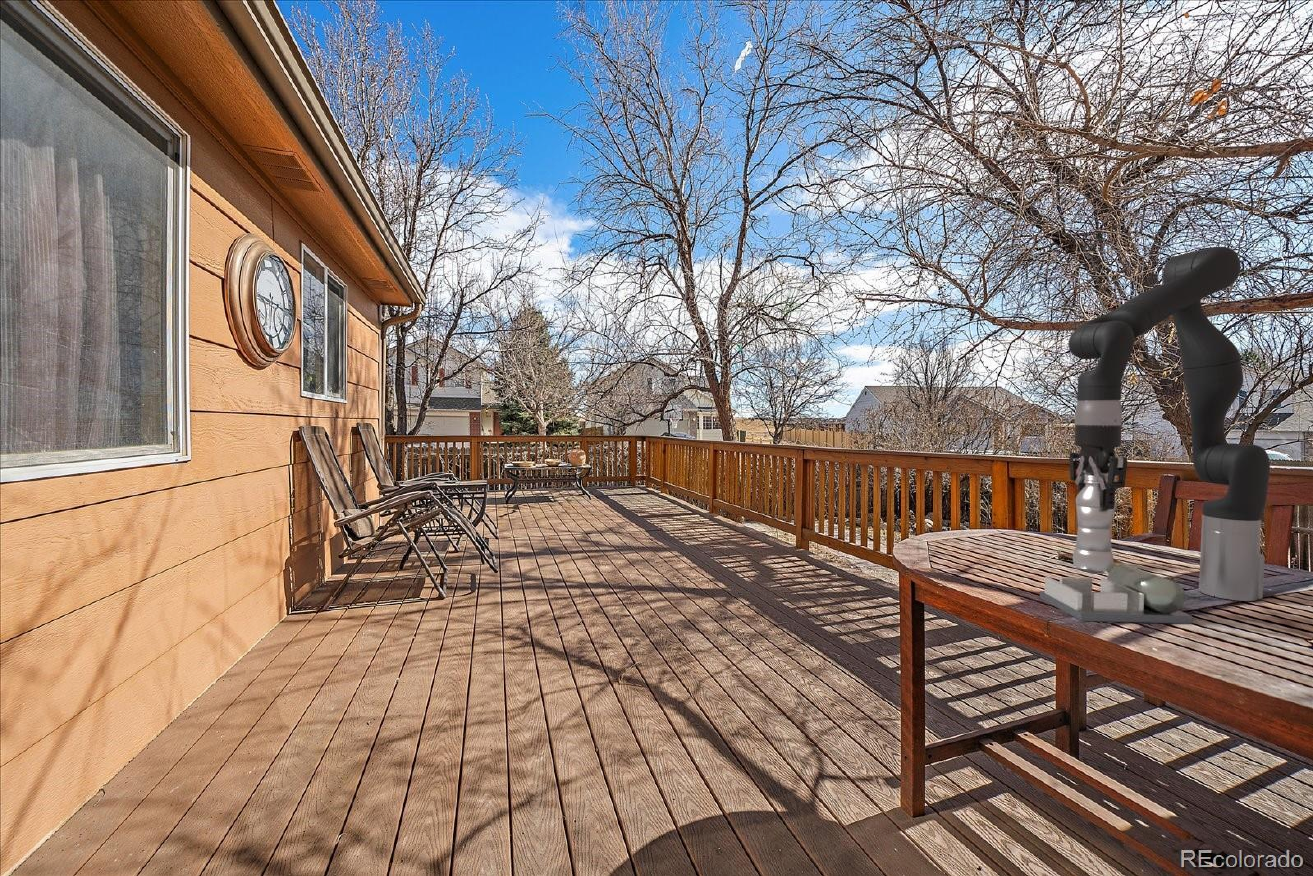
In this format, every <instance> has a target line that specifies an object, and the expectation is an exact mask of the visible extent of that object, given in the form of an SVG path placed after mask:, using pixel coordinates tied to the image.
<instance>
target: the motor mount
mask: <svg viewBox="0 0 1313 876" xmlns="http://www.w3.org/2000/svg"><path fill="white" fill-rule="evenodd" d="M1125 564H1126V563H1125ZM1125 564H1121V565H1117V566H1115V567H1114V568H1112V570H1111V571H1110V572H1109V573H1107V578H1105V577H1100V591H1098V592H1095V591H1093V578H1091V577H1073V576H1071V577H1066V576H1065V577H1064V576H1061V577H1059V581H1058V580H1057V579H1055V578H1052V577H1050V576H1044V590H1040V591H1039V599H1040V600H1042V601H1044V600H1045V601H1044V602H1046V603H1048V604H1051V606H1054V607H1055V608H1057V609H1059V610H1061V611H1063V612H1064V613H1066V614H1068V615H1070V616H1072V617H1073V618H1075V619H1076V620H1079V621H1080V622H1101V623H1102V622H1107V623H1109V622H1110V623H1113V622H1114V623H1144V624H1146V623H1147V624H1183V625H1184V624H1185V625H1186V624H1187V625H1189V624H1190V625H1192V624H1193V615H1191V614H1188V613H1186V612H1183V611H1182V610H1180V609H1181V608H1182V607H1183V606H1184V604H1185V602H1186V593H1185V590H1184V588H1183V586H1181V585H1180V584H1179V583H1177V582H1176V581H1173V580H1170V579H1167V578H1165V577H1162V576H1160V575H1157V574H1154V573H1151V572H1148V571H1145V570H1142V569H1139V568H1137V567H1135V566H1132V565H1129V564H1126V565H1125Z"/></svg>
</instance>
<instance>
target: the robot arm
mask: <svg viewBox="0 0 1313 876" xmlns="http://www.w3.org/2000/svg"><path fill="white" fill-rule="evenodd" d="M1241 266H1242V265H1241V261H1240V257H1239V255H1238V254H1237V252H1236V251H1235V250H1234V249H1232V248H1231V247H1227V246H1213V247H1207V248H1204V249H1199V250H1196V251H1191V252H1188V253H1184V254H1179V255H1176V256H1173V257H1171V258H1169V260H1167V261H1166V263H1165V264H1164V267H1163V269H1162V283H1163V284H1161V285H1160V284H1159V285H1157V286H1155V287H1153V288H1151V289H1148V290H1146V291H1143V292H1142V293H1139V294H1138V295H1135V296H1133V297H1132V298H1129V300H1127V301H1125V302H1124V303H1122V304H1121V305H1120V306H1119V307H1117V308H1116V309H1114V310H1113V311H1112V310H1111V311H1110V312H1107V313H1105V314H1103V315H1099V316H1097V317H1095V318H1093V319H1091V320H1087V321H1086V322H1084V323H1082V324H1081V325H1080V326H1078V327H1076V328H1075V330H1074V331H1073V332H1072V333H1071V335H1070V336H1069V339H1068V349H1069V352H1070V353H1071V355H1073V356H1074V357H1076V358H1078V359H1080V360H1096V359H1099V360H1098V362H1097V365H1096V367H1095V368H1093V369H1090V370H1087V371H1084V372H1082V373H1080V375H1079V376H1078V379H1077V389H1076V390H1077V391H1076V392H1077V399H1076V400H1077V402H1076V407H1075V413H1074V416H1075V417H1074V440H1073V441H1074V445H1075V446H1076V447H1079V448H1080V449H1079V450H1080V451H1079V452H1078V451H1077V452H1070V453H1069V456H1068V457H1069V479H1070V481H1072V482H1073V481H1074V482H1075V484H1076V485H1077V495H1078V494H1079V492H1080V491H1081V490H1082V489H1083V488H1084V487H1085V485H1086V483H1084V478H1085V474H1094V475H1095V478H1096V479H1098V480H1099V483H1100V486H1101V489H1102V490H1101V493H1100V507H1101V508H1102V509H1113V508H1114V505H1115V500H1116V491H1117V490H1118V489H1124V488H1125V486H1126V477H1127V469H1128V468H1127V467H1128V458H1127V457H1126V456H1116V453H1115V449H1116V448H1120V447H1121V446H1122V426H1123V423H1122V421H1123V410H1122V401H1121V400H1122V382H1123V377H1124V374H1125V371H1126V369H1127V366H1128V363H1129V361H1130V358H1131V354H1132V352H1133V349H1134V345H1135V338H1138V337H1141V336H1142V335H1144V334H1145V333H1146V332H1148V331H1150V330H1151V329H1152V328H1154V327H1155V326H1157V325H1158V324H1159V323H1161V322H1163V321H1164V320H1166V319H1168V318H1169V317H1171V316H1172V319H1173V322H1174V328H1175V331H1176V332H1175V333H1176V336H1177V342H1178V346H1179V353H1180V360H1181V367H1182V376H1183V380H1184V385H1185V389H1186V393H1187V400H1188V406H1189V413H1190V414H1189V416H1190V423H1191V443H1192V447H1191V448H1192V462H1193V467H1194V471H1195V473H1196V475H1197V477H1198V478H1199V479H1200V480H1201V481H1203V482H1205V483H1207V484H1213V485H1214V484H1215V485H1221V486H1228V489H1227V492H1226V495H1224V496H1223V497H1220V498H1217V499H1210V500H1208V501H1204V502H1203V504H1202V514H1201V515H1202V516H1201V533H1200V534H1201V536H1200V537H1201V538H1200V556H1199V557H1200V558H1199V559H1200V560H1199V581H1198V583H1199V584H1198V591H1199V592H1200V591H1201V592H1200V593H1203V594H1205V595H1207V596H1212V597H1214V596H1215V598H1218V599H1219V598H1220V599H1225V600H1230V601H1231V600H1232V601H1239V602H1240V601H1241V602H1242V601H1244V602H1255V601H1257V600H1263V599H1264V598H1263V596H1264V577H1265V576H1264V575H1265V574H1264V573H1265V555H1264V554H1261V552H1260V551H1261V531H1262V530H1261V529H1262V514H1263V511H1264V509H1265V506H1266V504H1267V499H1268V498H1267V496H1268V488H1269V487H1268V486H1269V482H1270V472H1271V463H1270V458H1269V454H1268V452H1267V451H1266V450H1265V449H1264V448H1263V447H1262V446H1260V445H1257V444H1249V443H1232V442H1231V443H1230V442H1227V440H1226V436H1225V435H1226V434H1225V419H1226V416H1227V413H1228V411H1229V410H1230V408H1231V406H1232V405H1233V403H1234V402H1235V400H1236V399H1237V397H1238V395H1239V393H1240V392H1241V389H1242V388H1243V384H1244V372H1243V366H1242V361H1241V356H1240V352H1239V349H1238V347H1236V345H1235V344H1234V343H1233V342H1232V341H1231V339H1230V338H1229V337H1228V336H1226V335H1225V334H1224V333H1223V332H1222V331H1221V330H1220V329H1219V328H1218V327H1216V326H1215V325H1214V324H1213V322H1212V321H1210V319H1209V318H1208V317H1207V315H1206V313H1205V311H1204V308H1203V304H1202V301H1201V300H1202V299H1204V298H1206V297H1208V296H1211V295H1213V294H1216V293H1219V292H1221V291H1223V290H1225V289H1228V288H1230V287H1231V286H1232V285H1233V284H1234V283H1235V282H1236V281H1237V279H1238V277H1239V276H1240V273H1241ZM1116 478H1118V479H1116ZM1105 479H1107V483H1106V480H1105ZM1117 480H1118V481H1117Z"/></svg>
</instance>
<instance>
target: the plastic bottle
mask: <svg viewBox="0 0 1313 876" xmlns="http://www.w3.org/2000/svg"><path fill="white" fill-rule="evenodd" d="M1105 480H1106V483H1107V481H1108V479H1105ZM1084 483H1086V485H1085V487H1084V488H1083V489H1082V490H1081V491H1080V492H1079V494H1078V493H1077V495H1076V497H1075V509H1076V518H1077V517H1078V530H1077V532H1076V533H1077V534H1076V535H1077V536H1076V541H1075V547H1074V550H1073V553H1072V554H1073V561H1072V562H1073V566H1074V568H1075V569H1076V570H1078V571H1081V572H1084V573H1089V574H1092V575H1094V574H1097V575H1100V574H1101V575H1102V574H1108V573H1109V572H1110V571H1111V570H1112V567H1113V564H1114V560H1113V558H1114V555H1113V551H1112V526H1113V519H1114V515H1115V510H1116V507H1117V506H1116V504H1117V501H1116V499H1115V505H1114V508H1113V509H1102V508H1101V507H1100V493H1101V490H1102V489H1101V486H1100V483H1099V480H1098V479H1096V478H1095V475H1094V474H1085V478H1084Z"/></svg>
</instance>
